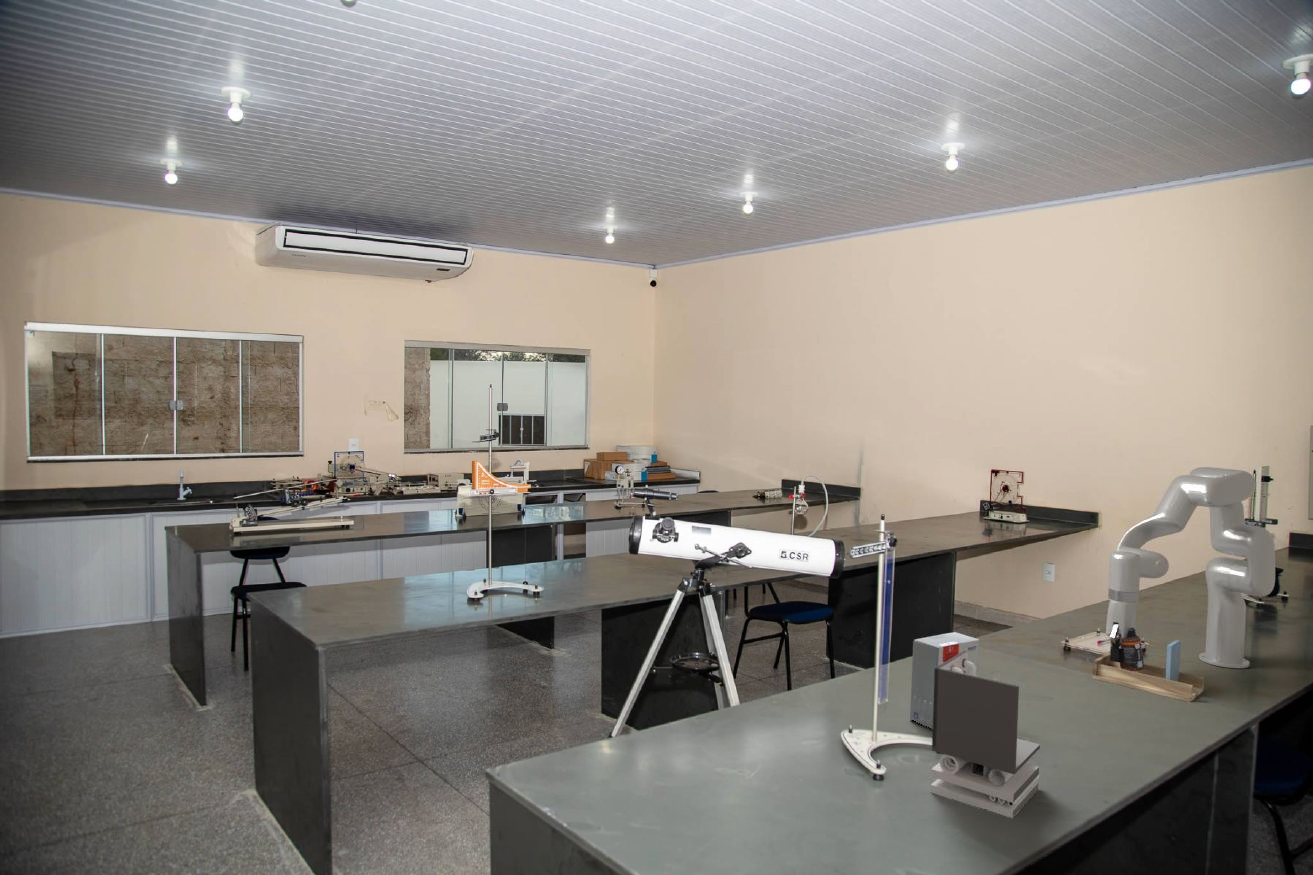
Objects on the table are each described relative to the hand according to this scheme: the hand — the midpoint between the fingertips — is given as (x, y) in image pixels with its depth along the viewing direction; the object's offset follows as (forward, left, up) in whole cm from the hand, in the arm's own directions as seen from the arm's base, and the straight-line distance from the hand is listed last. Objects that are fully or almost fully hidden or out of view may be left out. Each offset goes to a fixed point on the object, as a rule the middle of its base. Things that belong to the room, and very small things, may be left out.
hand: (1120, 658), depth 237 cm
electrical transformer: (+95, +6, -6) cm, 95 cm away
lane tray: (0, +7, -6) cm, 9 cm away
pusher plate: (0, +13, -4) cm, 14 cm away
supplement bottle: (0, +3, -2) cm, 4 cm away
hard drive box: (+67, -18, -6) cm, 70 cm away
